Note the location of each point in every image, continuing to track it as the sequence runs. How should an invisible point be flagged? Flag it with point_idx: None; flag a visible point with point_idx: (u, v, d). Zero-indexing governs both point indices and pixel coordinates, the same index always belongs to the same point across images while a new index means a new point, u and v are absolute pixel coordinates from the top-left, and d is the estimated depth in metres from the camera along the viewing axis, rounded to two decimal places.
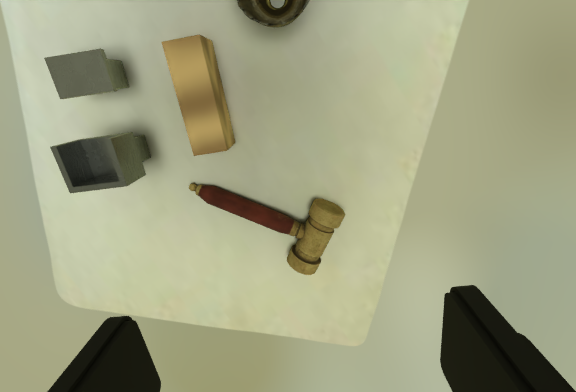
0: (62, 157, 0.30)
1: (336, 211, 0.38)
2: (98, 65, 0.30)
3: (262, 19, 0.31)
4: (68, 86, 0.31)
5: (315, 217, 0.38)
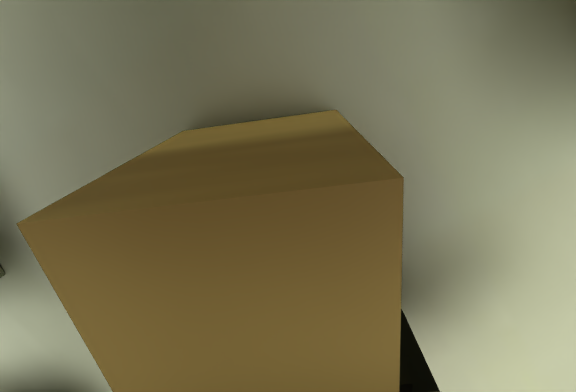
0: None
1: None
2: None
3: None
4: None
5: None
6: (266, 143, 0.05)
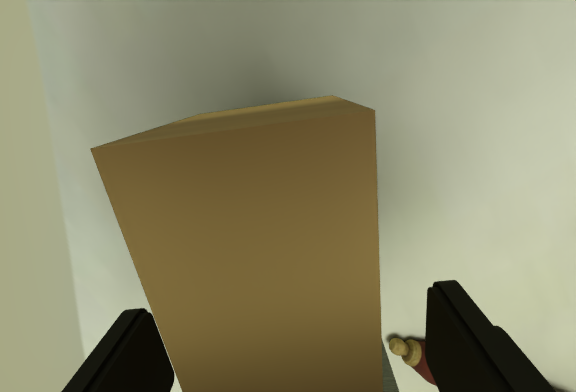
0: None
1: None
2: None
3: None
4: None
5: None
6: (273, 110, 0.06)
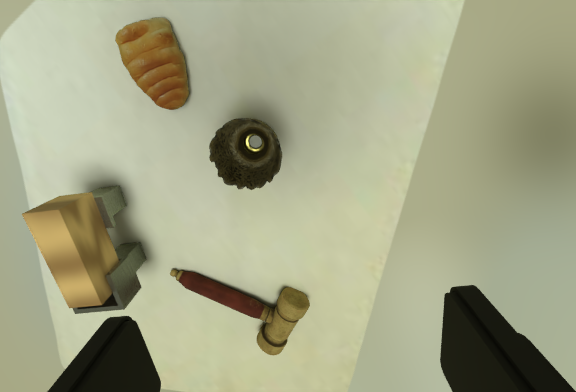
0: None
1: (301, 304, 0.43)
2: (99, 208, 0.35)
3: (241, 165, 0.35)
4: None
5: (282, 309, 0.42)
6: (61, 202, 0.31)
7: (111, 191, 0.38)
